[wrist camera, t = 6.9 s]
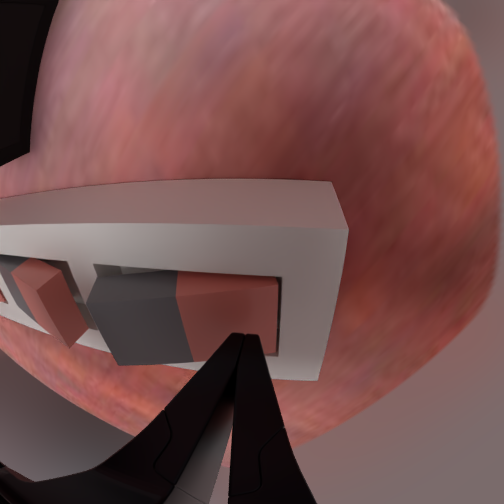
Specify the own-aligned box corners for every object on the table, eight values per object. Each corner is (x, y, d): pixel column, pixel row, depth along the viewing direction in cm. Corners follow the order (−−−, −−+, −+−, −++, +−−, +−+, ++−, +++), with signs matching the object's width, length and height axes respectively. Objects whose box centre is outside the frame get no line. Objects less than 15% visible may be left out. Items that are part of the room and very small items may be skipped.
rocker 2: (124, 338, 11) (118, 365, 9) (96, 277, 9) (85, 303, 8) (268, 325, 11) (275, 352, 10) (268, 258, 10) (278, 284, 8)
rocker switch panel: (-13, 272, 18) (-37, 297, 15) (-39, 206, 14) (-68, 229, 11) (315, 315, 14) (317, 380, 11) (331, 181, 10) (349, 229, 7)
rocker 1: (33, 292, 13) (17, 306, 12) (12, 246, 11) (-6, 259, 10) (88, 328, 11) (69, 348, 10) (61, 270, 9) (36, 290, 8)
